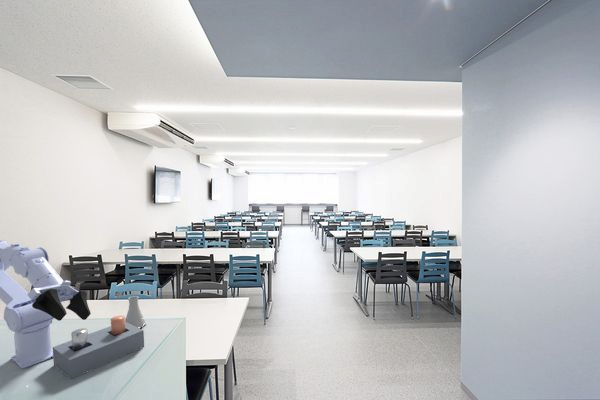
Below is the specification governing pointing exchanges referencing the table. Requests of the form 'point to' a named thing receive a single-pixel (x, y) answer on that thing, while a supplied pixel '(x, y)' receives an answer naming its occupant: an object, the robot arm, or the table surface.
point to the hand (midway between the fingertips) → (75, 316)
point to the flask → (134, 313)
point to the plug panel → (97, 350)
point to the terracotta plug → (117, 325)
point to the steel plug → (79, 339)
